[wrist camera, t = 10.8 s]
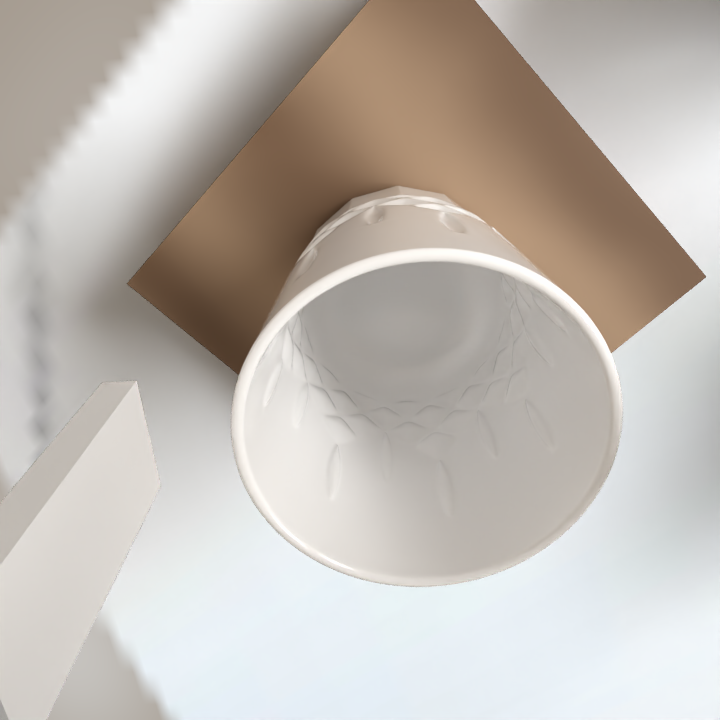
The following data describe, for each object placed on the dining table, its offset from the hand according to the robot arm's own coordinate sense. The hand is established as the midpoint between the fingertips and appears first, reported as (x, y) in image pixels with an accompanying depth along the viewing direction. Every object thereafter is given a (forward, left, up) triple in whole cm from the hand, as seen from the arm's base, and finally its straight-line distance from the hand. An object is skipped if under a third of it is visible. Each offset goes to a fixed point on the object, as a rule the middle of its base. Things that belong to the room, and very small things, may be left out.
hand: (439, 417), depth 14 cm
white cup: (0, 0, -9) cm, 9 cm away
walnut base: (0, 0, -13) cm, 13 cm away
